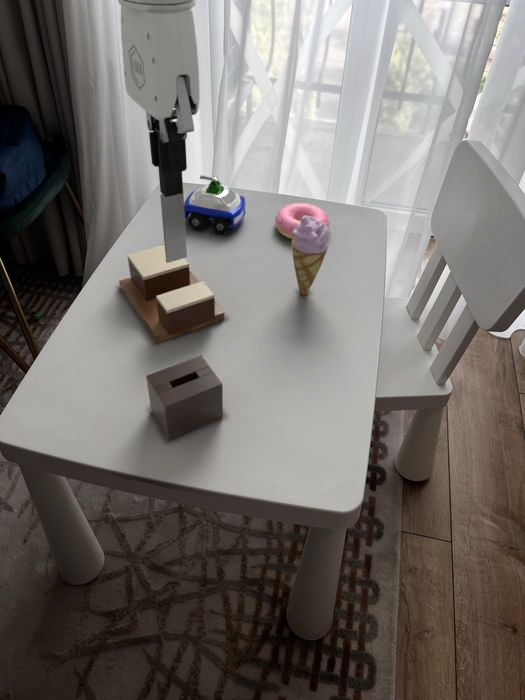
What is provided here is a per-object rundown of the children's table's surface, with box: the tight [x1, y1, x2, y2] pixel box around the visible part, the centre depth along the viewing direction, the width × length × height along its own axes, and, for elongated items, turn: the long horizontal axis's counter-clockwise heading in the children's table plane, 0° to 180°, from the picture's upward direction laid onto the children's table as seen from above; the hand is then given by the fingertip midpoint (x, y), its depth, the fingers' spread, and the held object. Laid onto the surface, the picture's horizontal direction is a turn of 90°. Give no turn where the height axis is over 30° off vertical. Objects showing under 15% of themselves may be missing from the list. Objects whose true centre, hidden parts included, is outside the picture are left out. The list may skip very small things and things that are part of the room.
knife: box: [155, 127, 188, 263], centre depth 67 cm, size 3×2×18 cm, turn 122°
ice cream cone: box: [291, 215, 331, 296], centre depth 89 cm, size 7×6×15 cm
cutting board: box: [118, 270, 225, 344], centre depth 90 cm, size 12×16×2 cm
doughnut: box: [274, 202, 331, 241], centre depth 108 cm, size 11×11×4 cm
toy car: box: [184, 174, 246, 236], centre depth 107 cm, size 9×12×10 cm
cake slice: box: [156, 280, 216, 335], centre depth 84 cm, size 8×4×5 cm, turn 121°
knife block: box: [145, 354, 224, 442], centre depth 71 cm, size 8×6×7 cm
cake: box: [126, 244, 190, 301], centre depth 90 cm, size 8×7×5 cm
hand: (169, 166), depth 64 cm, fingers closed on knife, 1 cm apart
